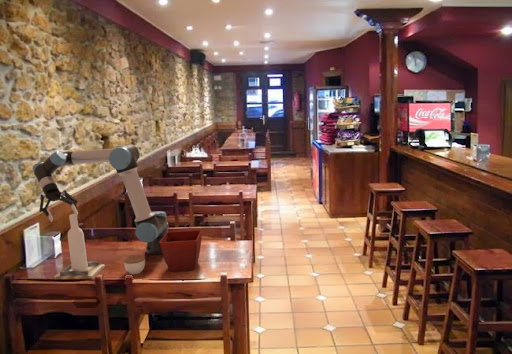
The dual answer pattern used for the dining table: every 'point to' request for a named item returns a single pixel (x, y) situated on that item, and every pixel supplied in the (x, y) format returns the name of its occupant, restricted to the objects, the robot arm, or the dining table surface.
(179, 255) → the plant pot
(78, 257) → the bottle
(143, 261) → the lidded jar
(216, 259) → the dining table surface
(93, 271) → the shallow rectangular tray
